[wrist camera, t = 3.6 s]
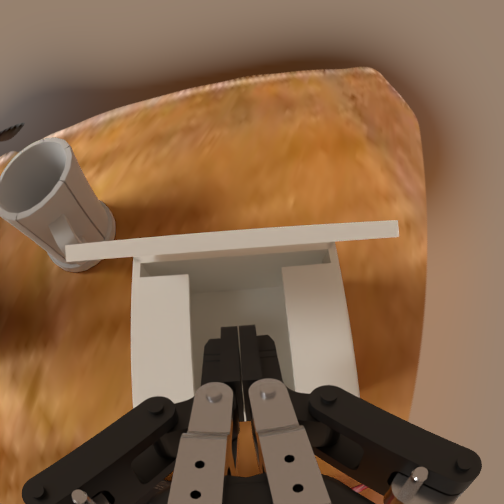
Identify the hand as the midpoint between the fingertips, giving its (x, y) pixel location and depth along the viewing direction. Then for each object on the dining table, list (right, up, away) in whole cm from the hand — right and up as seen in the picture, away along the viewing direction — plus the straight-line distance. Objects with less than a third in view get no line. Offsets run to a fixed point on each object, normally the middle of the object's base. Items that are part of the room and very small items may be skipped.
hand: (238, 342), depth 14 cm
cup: (-18, +5, +19) cm, 27 cm away
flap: (-1, +5, +9) cm, 10 cm away
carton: (0, -5, +15) cm, 16 cm away
